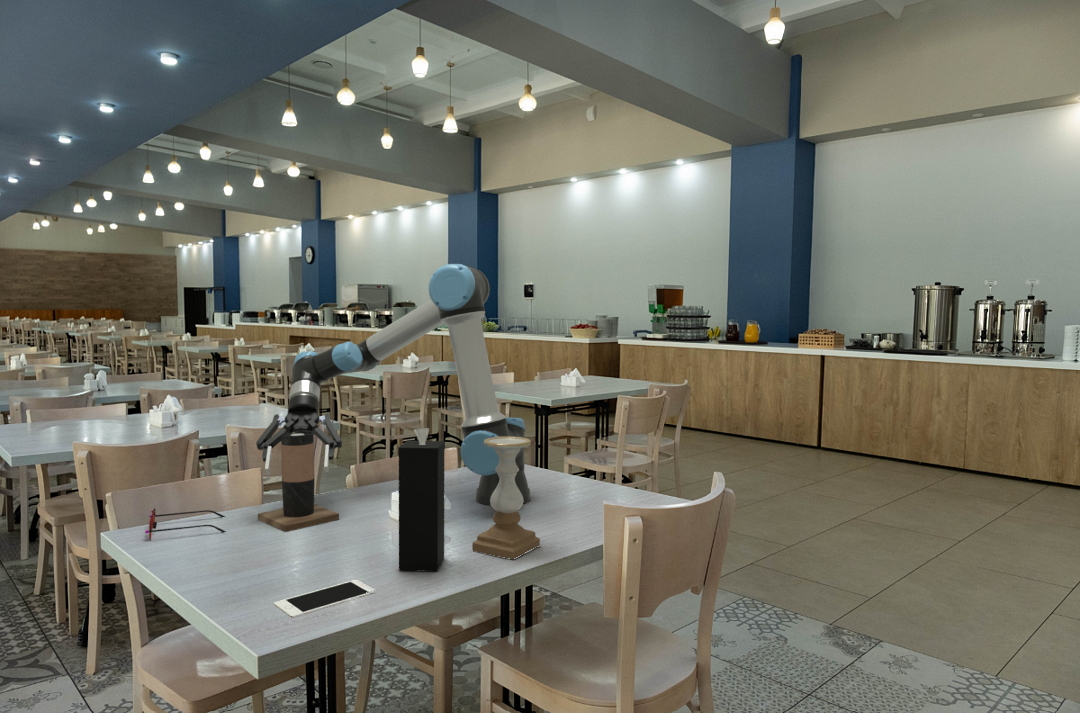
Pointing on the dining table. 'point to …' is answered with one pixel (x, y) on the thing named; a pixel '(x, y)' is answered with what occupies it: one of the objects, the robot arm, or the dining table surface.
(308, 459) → the travel mug
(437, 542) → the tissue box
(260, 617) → the dining table surface
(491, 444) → the candle holder
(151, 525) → the glasses
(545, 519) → the dining table surface
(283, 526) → the walnut board
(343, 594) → the cell phone
